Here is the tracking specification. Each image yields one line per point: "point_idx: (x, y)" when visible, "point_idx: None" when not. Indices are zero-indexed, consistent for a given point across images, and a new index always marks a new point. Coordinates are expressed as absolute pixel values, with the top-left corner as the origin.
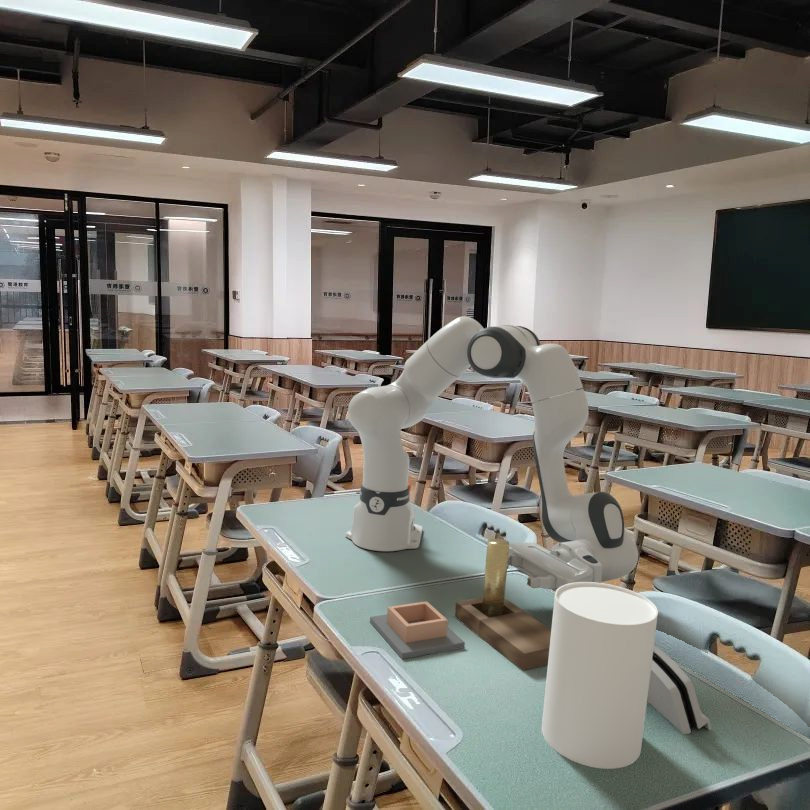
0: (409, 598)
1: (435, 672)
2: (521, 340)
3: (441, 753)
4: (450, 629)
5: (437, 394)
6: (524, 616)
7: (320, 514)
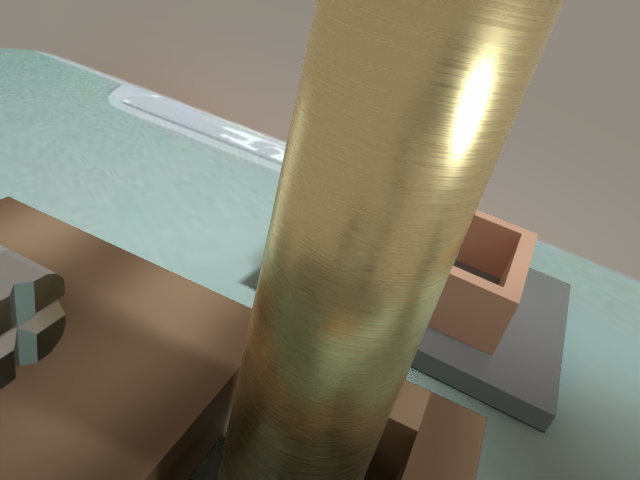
0: None
1: (254, 194)
2: None
3: (127, 83)
4: None
5: None
6: (57, 472)
7: None
